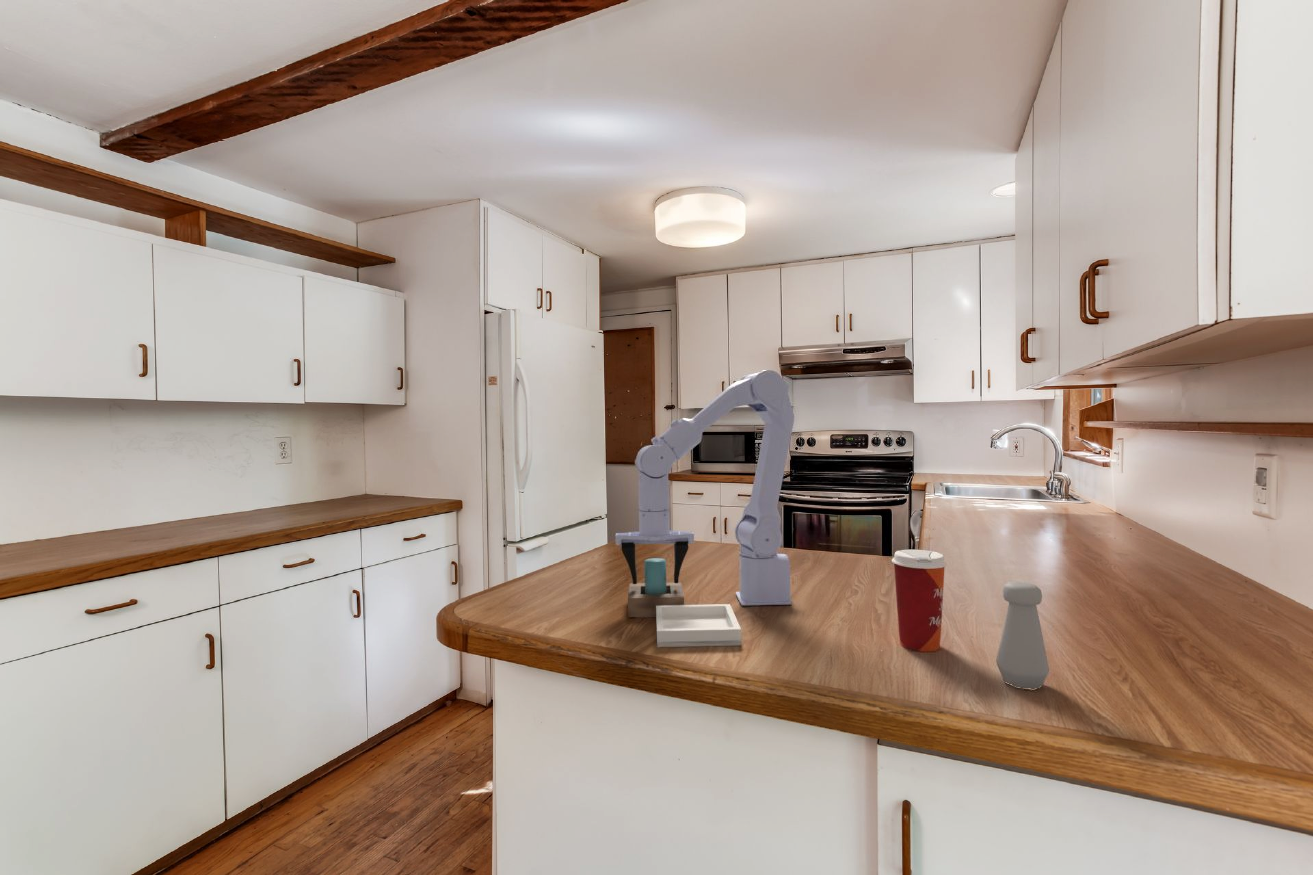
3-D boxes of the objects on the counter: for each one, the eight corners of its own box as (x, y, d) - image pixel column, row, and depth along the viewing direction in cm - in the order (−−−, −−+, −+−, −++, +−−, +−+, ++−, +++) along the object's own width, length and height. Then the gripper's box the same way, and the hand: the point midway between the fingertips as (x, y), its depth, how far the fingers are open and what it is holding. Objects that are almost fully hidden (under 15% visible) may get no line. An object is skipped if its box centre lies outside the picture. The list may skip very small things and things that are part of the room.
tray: (730, 618, 106) (729, 604, 106) (741, 645, 93) (741, 629, 93) (656, 619, 105) (656, 605, 105) (657, 647, 92) (657, 631, 92)
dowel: (666, 605, 114) (665, 558, 114) (667, 611, 110) (666, 562, 110) (645, 605, 114) (644, 558, 114) (645, 612, 110) (644, 563, 110)
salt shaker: (986, 675, 80) (986, 578, 80) (1027, 673, 81) (1026, 577, 80) (1016, 694, 74) (1016, 590, 74) (1060, 692, 75) (1059, 588, 75)
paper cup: (954, 656, 87) (953, 560, 87) (897, 653, 88) (896, 558, 88) (939, 637, 94) (939, 549, 94) (888, 634, 96) (887, 547, 96)
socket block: (681, 600, 117) (681, 582, 117) (684, 616, 107) (683, 597, 107) (630, 601, 117) (629, 583, 117) (628, 617, 107) (627, 598, 107)
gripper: (613, 513, 107) (615, 589, 108) (694, 512, 108) (695, 587, 108) (616, 508, 115) (617, 578, 115) (691, 506, 115) (693, 577, 115)
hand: (655, 582), depth 112 cm, fingers open, 7 cm apart
